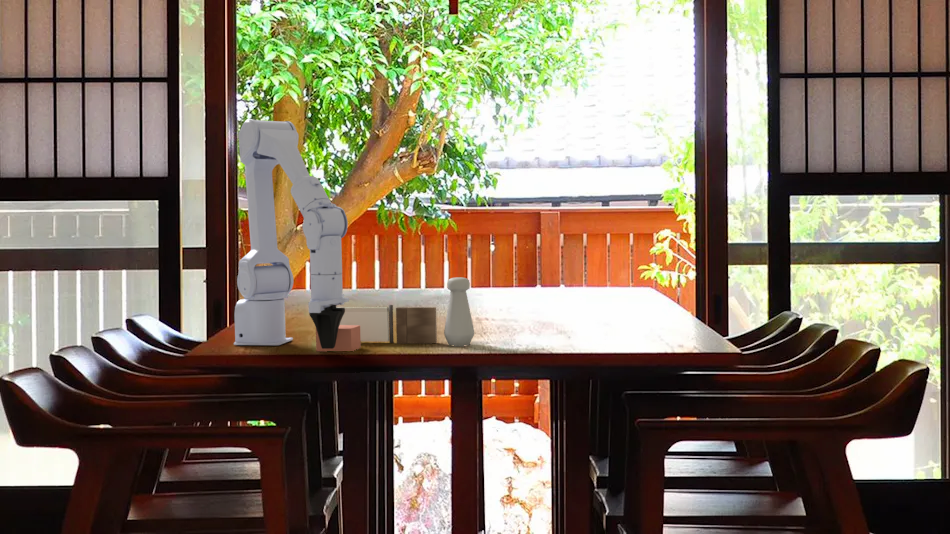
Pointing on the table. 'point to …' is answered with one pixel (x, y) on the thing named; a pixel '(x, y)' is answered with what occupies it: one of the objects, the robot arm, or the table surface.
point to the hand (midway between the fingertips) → (328, 348)
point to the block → (344, 339)
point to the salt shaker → (458, 314)
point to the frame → (413, 325)
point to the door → (368, 322)
